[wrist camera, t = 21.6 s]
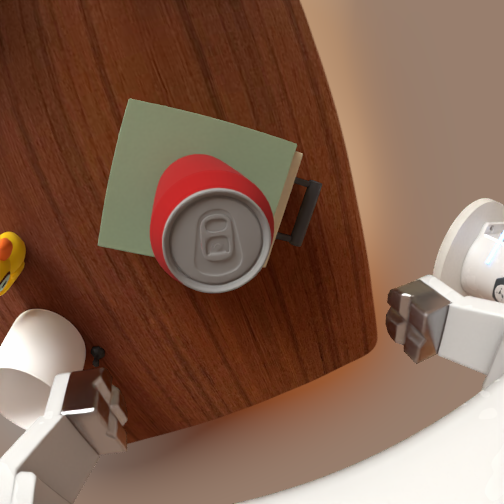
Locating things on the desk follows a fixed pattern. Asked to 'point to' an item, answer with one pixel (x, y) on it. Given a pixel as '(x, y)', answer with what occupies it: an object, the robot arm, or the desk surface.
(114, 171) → the cabinet
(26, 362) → the cup
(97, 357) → the chess pawn
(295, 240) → the drawer
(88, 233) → the desk surface
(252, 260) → the beverage can
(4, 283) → the duckling
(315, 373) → the desk surface
